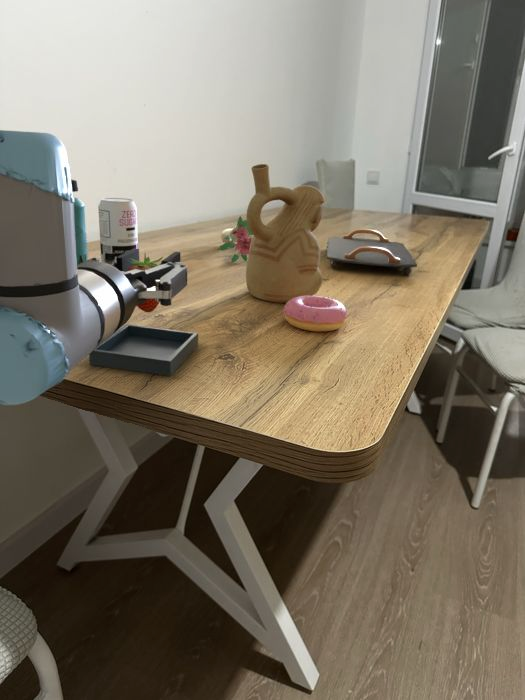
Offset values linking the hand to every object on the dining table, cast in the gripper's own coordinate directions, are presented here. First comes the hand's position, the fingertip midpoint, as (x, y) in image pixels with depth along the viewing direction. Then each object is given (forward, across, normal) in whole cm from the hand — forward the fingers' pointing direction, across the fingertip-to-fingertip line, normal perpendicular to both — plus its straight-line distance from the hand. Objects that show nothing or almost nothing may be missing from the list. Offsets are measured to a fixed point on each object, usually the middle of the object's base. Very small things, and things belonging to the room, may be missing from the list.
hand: (157, 259), depth 72 cm
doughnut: (+15, +23, -13) cm, 30 cm away
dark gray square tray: (-5, 0, -12) cm, 13 cm away
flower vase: (+66, +1, -12) cm, 68 cm away
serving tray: (+77, +36, -12) cm, 86 cm away
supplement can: (+44, -23, -12) cm, 51 cm away
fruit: (-5, 0, -6) cm, 8 cm away
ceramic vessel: (+32, +15, -12) cm, 38 cm away
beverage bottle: (+28, -26, -12) cm, 40 cm away
